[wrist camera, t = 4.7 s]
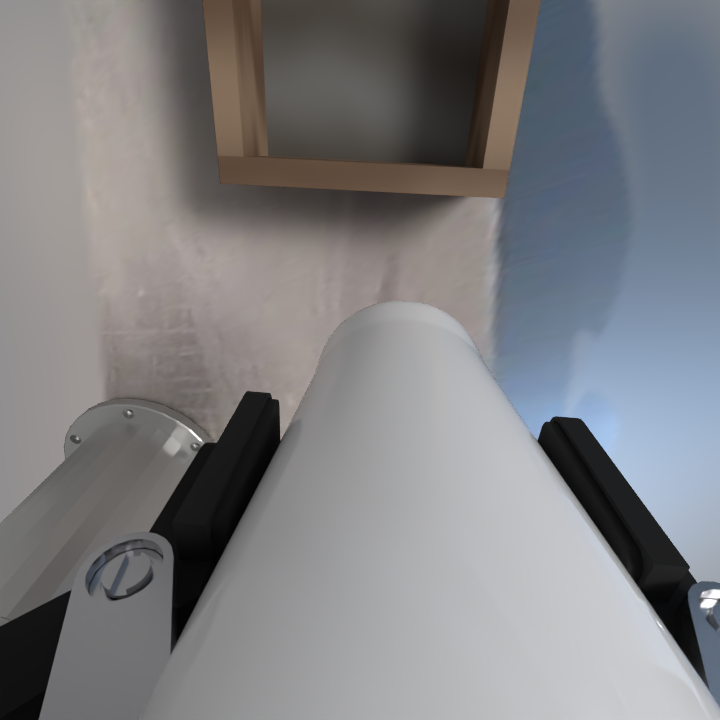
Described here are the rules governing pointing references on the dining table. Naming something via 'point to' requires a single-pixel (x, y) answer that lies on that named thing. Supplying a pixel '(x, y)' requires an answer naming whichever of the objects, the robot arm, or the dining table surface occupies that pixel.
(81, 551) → the robot arm
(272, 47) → the caddy
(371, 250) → the dining table surface
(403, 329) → the drinking glass
